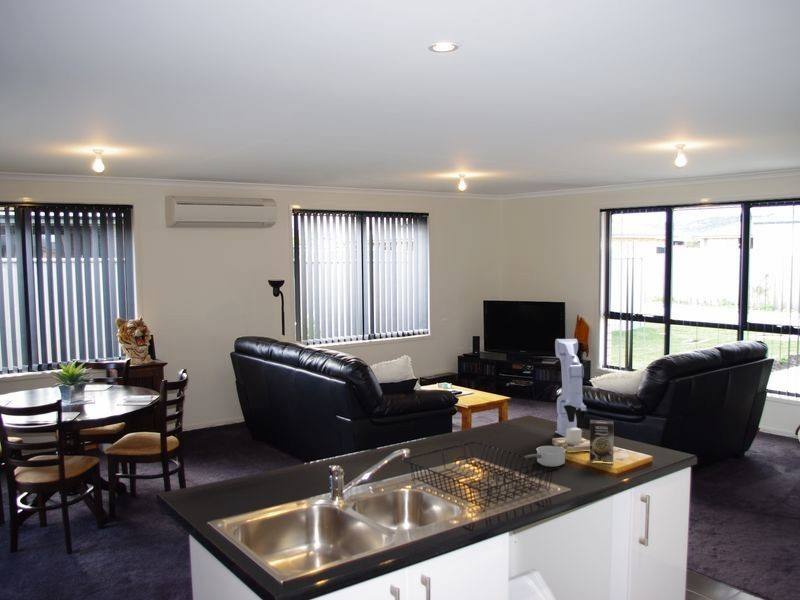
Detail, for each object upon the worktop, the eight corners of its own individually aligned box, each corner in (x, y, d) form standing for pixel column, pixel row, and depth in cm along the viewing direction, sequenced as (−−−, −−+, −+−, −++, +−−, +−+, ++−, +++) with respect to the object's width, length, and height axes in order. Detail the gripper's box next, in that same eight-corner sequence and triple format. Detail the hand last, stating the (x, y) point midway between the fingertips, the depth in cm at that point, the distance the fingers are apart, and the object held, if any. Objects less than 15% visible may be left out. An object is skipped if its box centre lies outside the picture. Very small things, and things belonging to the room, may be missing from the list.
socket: (552, 444, 294) (552, 437, 294) (579, 441, 297) (579, 434, 297) (569, 453, 280) (568, 446, 279) (597, 450, 283) (597, 443, 282)
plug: (566, 446, 290) (566, 428, 289) (581, 445, 291) (581, 427, 291) (571, 449, 286) (570, 430, 285) (585, 447, 288) (585, 429, 287)
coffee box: (589, 463, 265) (589, 422, 264) (589, 458, 271) (589, 419, 271) (613, 464, 263) (613, 424, 262) (613, 460, 269) (613, 420, 268)
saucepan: (514, 467, 263) (514, 452, 263) (550, 457, 274) (550, 444, 274) (536, 474, 254) (536, 459, 253) (572, 464, 265) (572, 450, 265)
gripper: (558, 390, 295) (559, 420, 295) (575, 396, 281) (575, 428, 281) (573, 389, 296) (573, 419, 297) (590, 395, 282) (590, 427, 283)
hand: (575, 423), depth 289 cm, fingers open, 7 cm apart
